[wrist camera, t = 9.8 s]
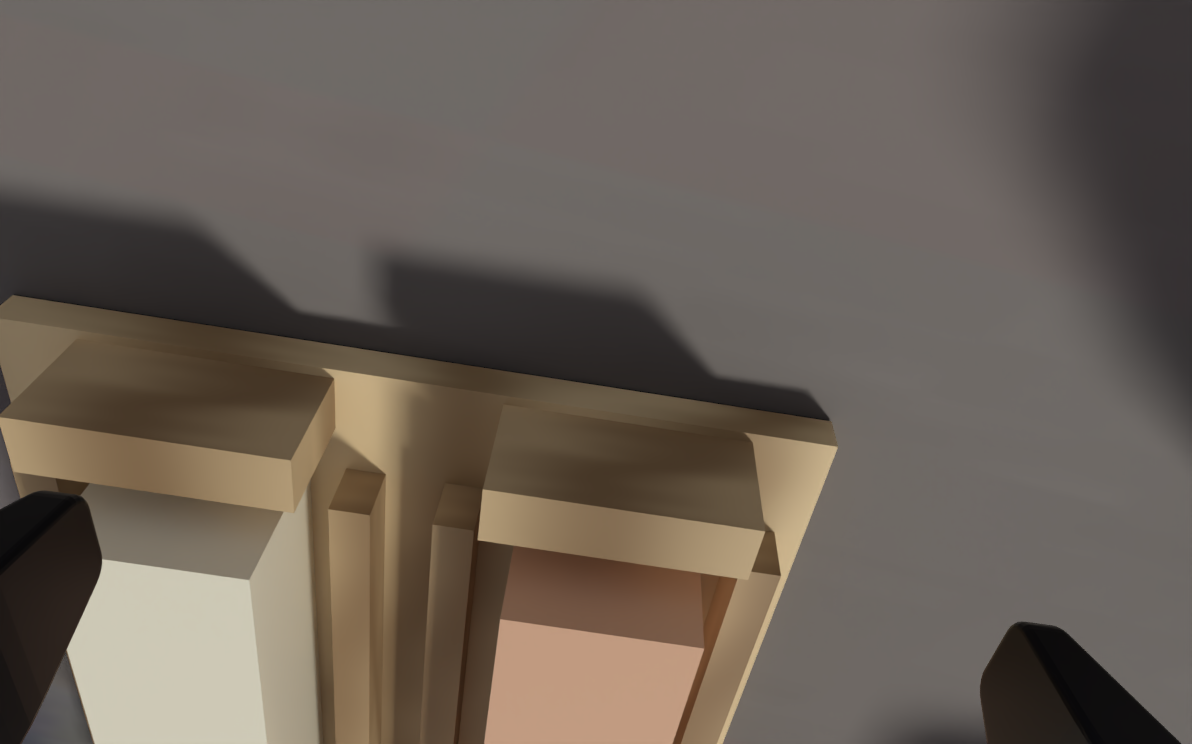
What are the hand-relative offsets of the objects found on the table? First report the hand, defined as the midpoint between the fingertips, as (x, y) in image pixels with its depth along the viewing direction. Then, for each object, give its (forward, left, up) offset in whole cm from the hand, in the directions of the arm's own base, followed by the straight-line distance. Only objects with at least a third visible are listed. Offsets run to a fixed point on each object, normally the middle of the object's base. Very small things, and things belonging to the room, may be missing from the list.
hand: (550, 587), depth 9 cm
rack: (+4, +17, -12) cm, 21 cm away
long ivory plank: (+8, +17, -11) cm, 22 cm away
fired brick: (-1, +17, -11) cm, 20 cm away
